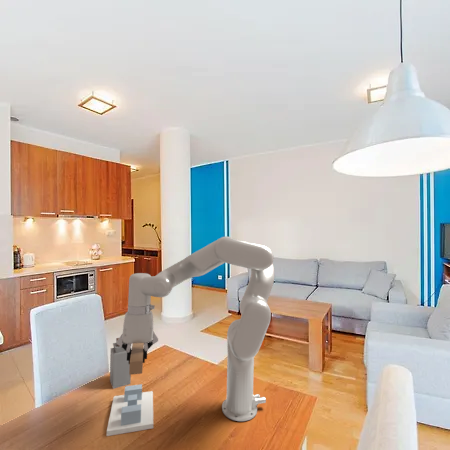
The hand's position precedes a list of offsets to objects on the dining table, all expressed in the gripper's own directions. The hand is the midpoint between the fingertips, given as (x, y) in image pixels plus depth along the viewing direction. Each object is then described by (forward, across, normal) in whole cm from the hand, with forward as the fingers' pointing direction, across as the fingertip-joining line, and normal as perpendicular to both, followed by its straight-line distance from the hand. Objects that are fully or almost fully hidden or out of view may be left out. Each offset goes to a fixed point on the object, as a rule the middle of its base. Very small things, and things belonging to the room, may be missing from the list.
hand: (136, 361), depth 95 cm
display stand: (+18, +1, 0) cm, 18 cm away
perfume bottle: (+18, +7, -21) cm, 29 cm away
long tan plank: (0, 0, 0) cm, 0 cm away
